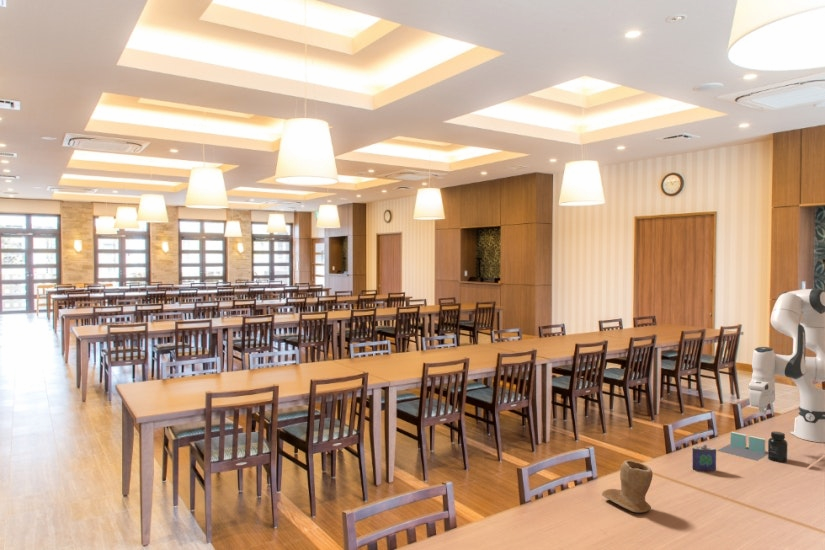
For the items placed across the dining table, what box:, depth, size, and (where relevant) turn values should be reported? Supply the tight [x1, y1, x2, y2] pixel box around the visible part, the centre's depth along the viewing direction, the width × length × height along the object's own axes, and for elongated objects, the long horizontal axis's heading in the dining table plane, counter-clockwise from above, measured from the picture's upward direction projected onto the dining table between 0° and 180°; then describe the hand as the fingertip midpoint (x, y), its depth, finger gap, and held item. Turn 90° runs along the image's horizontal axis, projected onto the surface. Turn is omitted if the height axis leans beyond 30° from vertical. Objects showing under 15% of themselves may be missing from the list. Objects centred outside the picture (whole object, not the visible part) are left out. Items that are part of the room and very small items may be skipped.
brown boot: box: [601, 460, 654, 514], centre depth 188 cm, size 15×12×15 cm
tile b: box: [730, 431, 747, 449], centre depth 248 cm, size 2×6×6 cm, turn 39°
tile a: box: [748, 435, 766, 453], centre depth 242 cm, size 2×6×6 cm, turn 39°
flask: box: [691, 443, 717, 472], centre depth 221 cm, size 9×3×11 cm, turn 88°
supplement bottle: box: [767, 431, 789, 464], centre depth 231 cm, size 7×7×12 cm
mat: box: [716, 443, 768, 461], centre depth 242 cm, size 16×16×1 cm
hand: (762, 414), depth 246 cm, fingers closed
